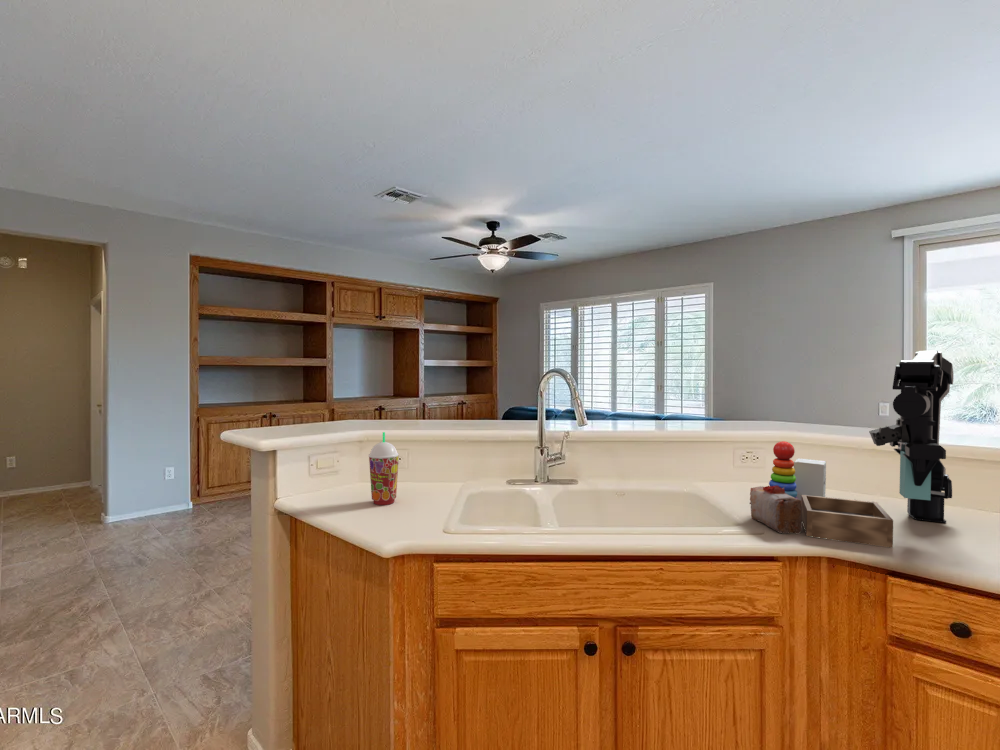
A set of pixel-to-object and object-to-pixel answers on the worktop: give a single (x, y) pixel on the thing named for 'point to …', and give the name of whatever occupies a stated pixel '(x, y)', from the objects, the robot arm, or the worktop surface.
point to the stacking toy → (784, 468)
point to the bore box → (847, 520)
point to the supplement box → (810, 477)
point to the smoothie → (383, 472)
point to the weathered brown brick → (776, 509)
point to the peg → (912, 482)
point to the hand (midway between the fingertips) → (914, 483)
